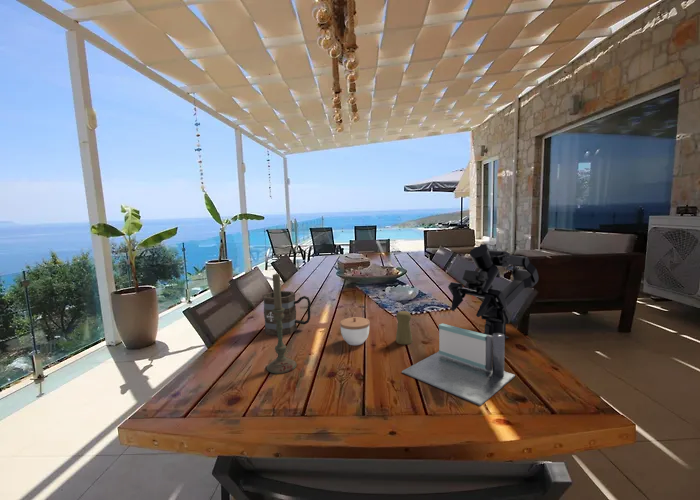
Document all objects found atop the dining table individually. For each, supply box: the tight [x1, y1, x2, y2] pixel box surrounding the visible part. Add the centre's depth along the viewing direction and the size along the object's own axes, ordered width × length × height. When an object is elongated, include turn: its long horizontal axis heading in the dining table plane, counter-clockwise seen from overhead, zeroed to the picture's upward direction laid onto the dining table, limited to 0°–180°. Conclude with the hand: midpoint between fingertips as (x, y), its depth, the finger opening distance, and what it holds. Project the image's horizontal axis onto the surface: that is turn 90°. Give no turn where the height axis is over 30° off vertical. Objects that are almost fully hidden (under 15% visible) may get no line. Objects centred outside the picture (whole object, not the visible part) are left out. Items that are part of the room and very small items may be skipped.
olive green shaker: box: [395, 310, 413, 345], centre depth 120 cm, size 6×6×11 cm
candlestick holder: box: [266, 272, 298, 375], centre depth 102 cm, size 9×9×30 cm
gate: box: [438, 322, 493, 371], centre depth 100 cm, size 17×2×10 cm, turn 42°
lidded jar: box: [339, 316, 370, 346], centre depth 121 cm, size 11×11×9 cm
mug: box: [262, 290, 312, 337], centre depth 137 cm, size 20×14×15 cm
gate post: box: [401, 333, 516, 406], centre depth 94 cm, size 24×20×12 cm
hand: (464, 313), depth 108 cm, fingers open, 9 cm apart
